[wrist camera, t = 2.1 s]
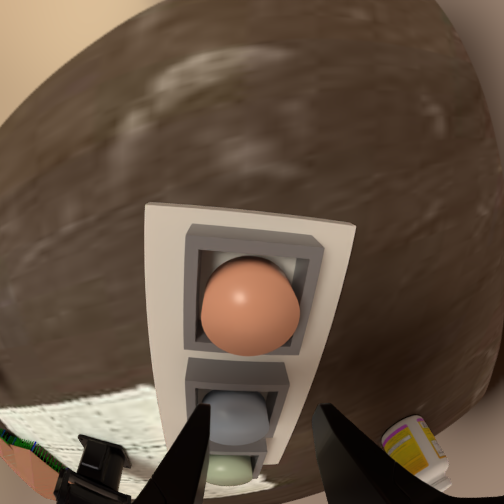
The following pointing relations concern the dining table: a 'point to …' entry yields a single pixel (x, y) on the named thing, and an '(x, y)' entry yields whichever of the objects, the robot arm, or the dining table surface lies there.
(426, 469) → the supplement bottle
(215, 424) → the slate blue button
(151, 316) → the button panel
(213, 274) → the terracotta button
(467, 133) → the dining table surface
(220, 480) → the sage button
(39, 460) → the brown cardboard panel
